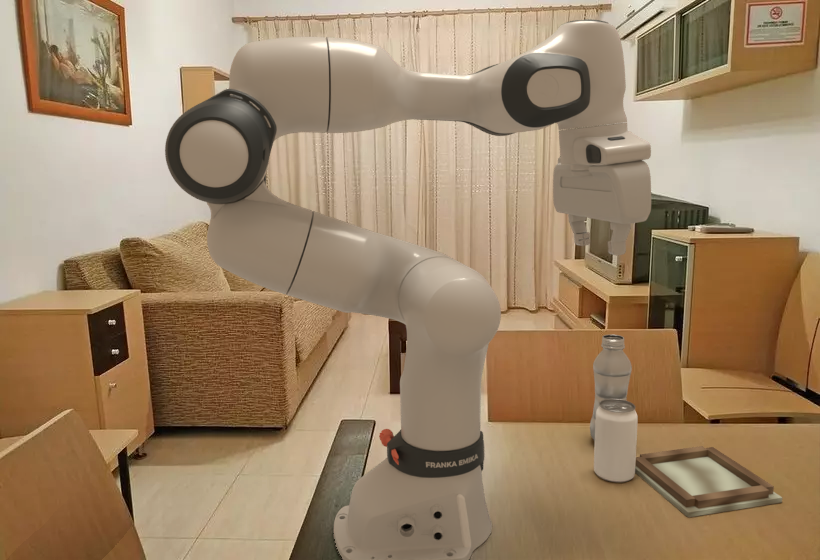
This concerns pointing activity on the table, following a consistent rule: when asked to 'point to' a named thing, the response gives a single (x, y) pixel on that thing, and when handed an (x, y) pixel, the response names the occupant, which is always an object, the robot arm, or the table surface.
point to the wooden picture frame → (703, 481)
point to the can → (615, 440)
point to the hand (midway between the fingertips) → (598, 249)
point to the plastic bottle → (610, 373)
